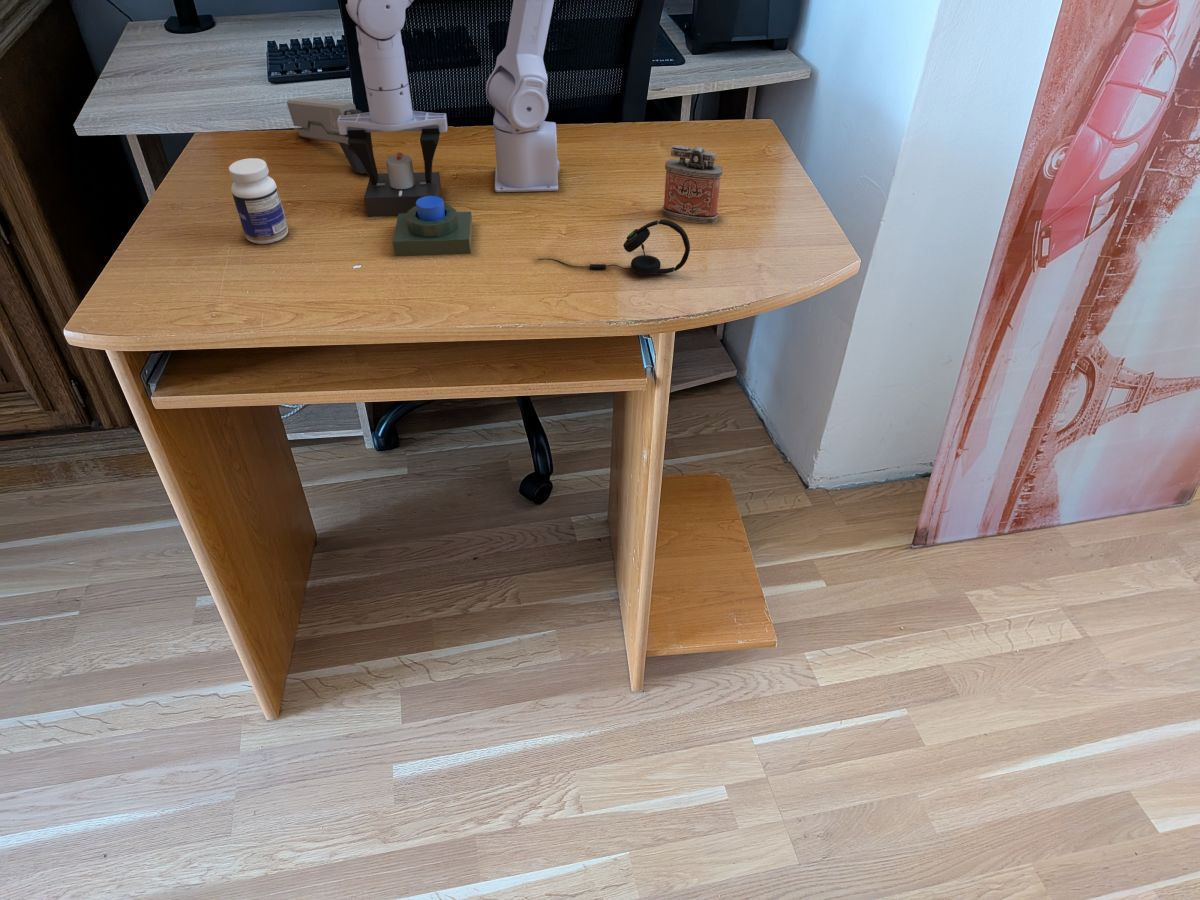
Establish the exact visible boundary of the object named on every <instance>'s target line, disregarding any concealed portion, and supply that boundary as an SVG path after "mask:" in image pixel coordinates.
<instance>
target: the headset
mask: <svg viewBox="0 0 1200 900" xmlns="http://www.w3.org/2000/svg"><path fill="white" fill-rule="evenodd" d="M658 225H662V226H667V227H669V228H671V229H672V230H674V231H675V232H677V233H678V234H679V236H680V237H681V239H682V242H683V245H684V253H683V255H682V257H681V260H680V261H679V262H678V264H676V266H675V267H674V266H671V267H667V268H661V267H662V264H661V260H660V259H659V258H658V257H655V256H653V255H647V254H646V253H645V244H644V243H645V242H646V241H647V240H648V238H649V237H650V235H651V231H650V229H649V228H651V227H654V226H658ZM622 247H623V249H624V250H625V252H627V253H632V252H633V251H635V250H637V249H638V248H639V247H641V250H642V252H643V255H637V256H635V257H633V258H632V260H631V262H630V268H627V267H622V266H620V265H617V264H608V265H606V263H603V264H602V263H601V264H599V263H598V264H597V263H591V264H589V265H586V266H585V265H582V266H578V265H572V264H569V263H565V262H562V261H560V260H557V259H555V258H547V260H548V261H549V260H550V261H555V262H557V263H561V264H563V265H566V266H569V267H573V268H589V269H591V270H606V269H607V267H612V266H615V267H618V268H621V269H622V270H623V269H624V270H631V271H632V272H633V273H635V274H637V275H640V276H641V275H642V276H651V275H652V276H653V275H655V274H656V275H657V274H658V275H660V274H661V275H662V274H663V275H664V274H669V273H674V272H676V271H678V270H680V269H681V268H683V266H684V265H685V264H686V263H687V261H688V259H689V256H690V252H691V243H690V239H689V236H688V234H687V232H686V231H685V229H683V227H682V226H680V225H679V224H678V223H676V222H675V221H672V220H669V219H657V220H653V221H651V222H648V223H646V224H644V225H643V226H641V227H640V228H636V229H634V230H632V232H630V233H629V234H627V236H626V240H625V241H624V243H623V245H622ZM537 260H538V261H542V260H544V258H538V259H537Z"/></svg>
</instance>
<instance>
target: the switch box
mask: <svg viewBox="0 0 1200 900" xmlns="http://www.w3.org/2000/svg"><path fill="white" fill-rule="evenodd" d="M444 210H445V217H444V218H442V219H439V220H436V221H424V220H419V218H418V214H417V207H416V206H414V207H413V208H412V209H410V210H409V211H407V213H402V214H398V216H397V219H396V223H395V228H394V233H393V237H392V247H393V253H394V257H407V256H410V257H411V256H441V255H444V256H445V255H471V253H472V239H473V229H474V228H473V227H474V224H473V216H472V211H457V210H456V209H455V208H454V207H453V206H452V205H450V204H446V203H444Z"/></svg>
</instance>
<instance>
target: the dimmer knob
mask: <svg viewBox="0 0 1200 900" xmlns="http://www.w3.org/2000/svg"><path fill="white" fill-rule="evenodd" d="M385 164H386V165H385V166H386V170H387V173H388V177H389V183H390V186H391V187H392V188H395V189H407V188H410V187H412V186H414V185H415V178H414V173H415V171H414V165H413V159H412V157H411V156H410V155H407V154H403V153H402V152H397V153H396V154H394V155H393V154H392V155H390V156H388V157H387V158H386V159H385Z"/></svg>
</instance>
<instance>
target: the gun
mask: <svg viewBox="0 0 1200 900" xmlns="http://www.w3.org/2000/svg"><path fill="white" fill-rule="evenodd" d="M286 105H287V109H288V111H289V115H290V117H291V120H292V123H293V126H294V127H297V132H298V135H299V136H300V137H302V138H305V139H311V140H317V141H322V142H327V143H333V144H338V145H339V146H340V148H341V150H342V152H343V154H344V157H345V158H346V160H347V161H348V163H349V166H350V167H351V169H352V171H353V172H354V173H356V174H361V175H365V174H367V172H366V170H365V168H364V166H363V164H362V162H361V161H360V159H359V158H358V156H357V155H356V154H355V152H354V151H353V150H352V149H351V148H350V146H349V144H348V139H349V138H348V134H347V135H340V133H339V128H338V123H337V120H338V117H339V116H342V115H353V114H360V113H363V111H362V110H360V109H357V108H356V104H354V102H348V101H339V100H338V101H337V100H330V99H329V100H328V99H318V98H307V97H295V98H291V99H288V100H287V101H286ZM298 127H299V128H298Z"/></svg>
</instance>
